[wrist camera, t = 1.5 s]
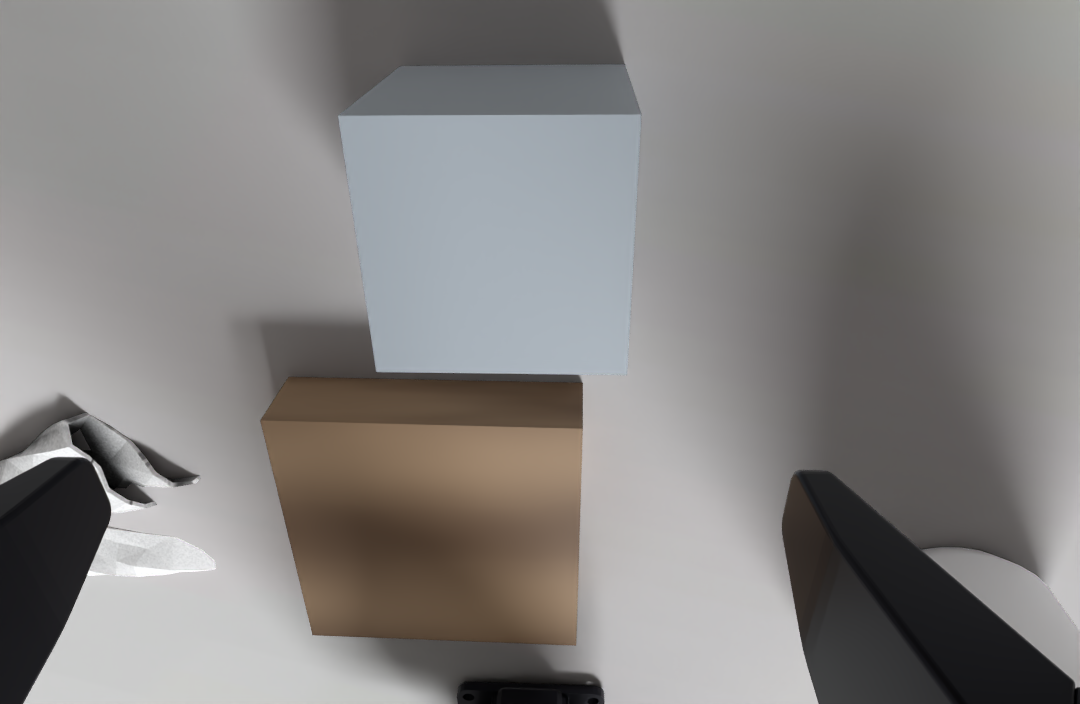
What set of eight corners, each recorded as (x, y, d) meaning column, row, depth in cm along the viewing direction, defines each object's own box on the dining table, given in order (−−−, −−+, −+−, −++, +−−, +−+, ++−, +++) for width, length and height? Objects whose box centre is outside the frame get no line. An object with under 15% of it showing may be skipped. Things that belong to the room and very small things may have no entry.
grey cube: (615, 271, 22) (627, 374, 17) (422, 270, 23) (376, 371, 18) (624, 64, 19) (641, 114, 14) (401, 65, 20) (337, 115, 15)
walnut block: (576, 582, 30) (575, 645, 27) (335, 574, 30) (312, 635, 28) (582, 376, 25) (582, 428, 22) (293, 369, 25) (260, 420, 23)
